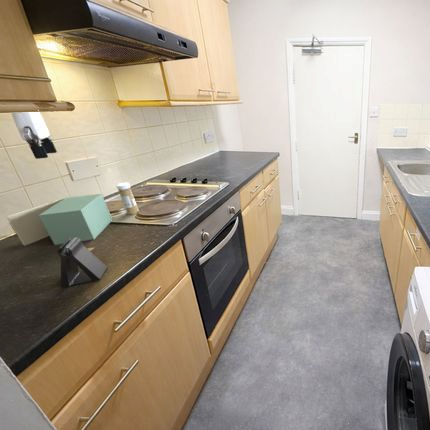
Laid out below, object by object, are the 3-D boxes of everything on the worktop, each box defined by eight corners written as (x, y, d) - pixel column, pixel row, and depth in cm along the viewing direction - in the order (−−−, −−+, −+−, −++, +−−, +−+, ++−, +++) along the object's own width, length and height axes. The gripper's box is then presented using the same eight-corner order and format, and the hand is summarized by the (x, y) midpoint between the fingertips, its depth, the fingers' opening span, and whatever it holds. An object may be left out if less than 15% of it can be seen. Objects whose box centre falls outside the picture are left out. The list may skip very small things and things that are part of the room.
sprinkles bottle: (141, 211, 119) (131, 182, 113) (132, 215, 115) (121, 186, 109) (134, 210, 120) (123, 181, 114) (124, 214, 116) (113, 185, 110)
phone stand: (108, 268, 80) (92, 233, 75) (100, 280, 75) (82, 244, 70) (72, 275, 78) (53, 240, 72) (61, 288, 72) (40, 251, 67)
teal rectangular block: (54, 245, 94) (38, 215, 88) (78, 224, 108) (66, 197, 103) (94, 239, 97) (80, 210, 91) (112, 220, 111) (101, 193, 106)
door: (17, 243, 95) (-1, 215, 90) (70, 223, 109) (57, 197, 104) (25, 245, 93) (7, 216, 88) (77, 224, 108) (64, 198, 103)
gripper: (18, 103, 93) (41, 152, 100) (-7, 105, 79) (22, 161, 87) (46, 102, 96) (67, 150, 104) (27, 104, 83) (52, 158, 90)
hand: (47, 155), depth 95 cm, fingers open, 9 cm apart
